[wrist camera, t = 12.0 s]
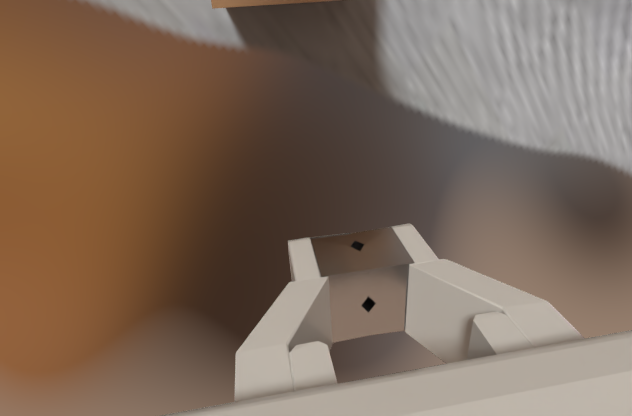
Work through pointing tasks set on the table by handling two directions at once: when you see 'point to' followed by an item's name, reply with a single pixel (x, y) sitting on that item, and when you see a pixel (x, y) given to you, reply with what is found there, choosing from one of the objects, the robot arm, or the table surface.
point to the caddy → (256, 2)
